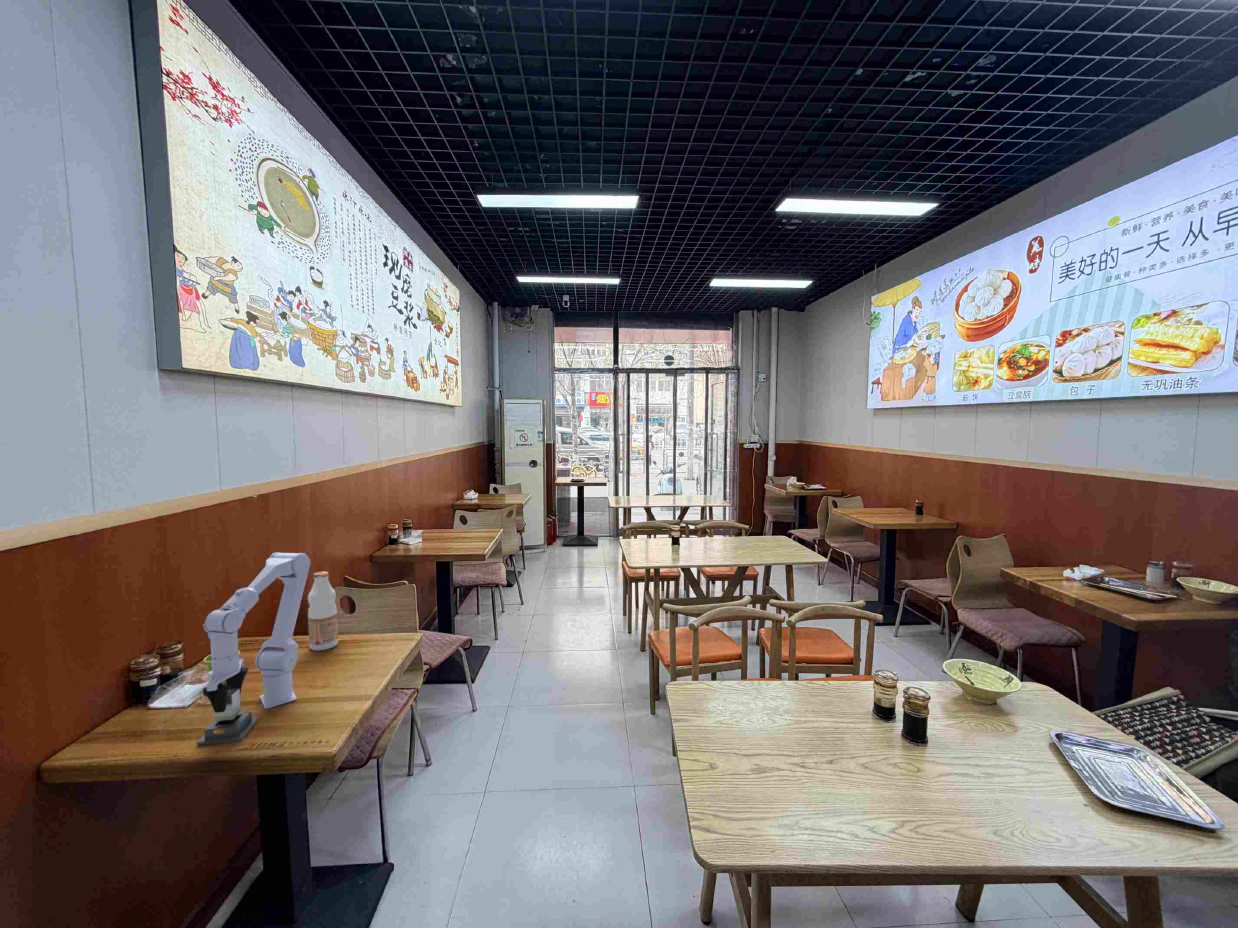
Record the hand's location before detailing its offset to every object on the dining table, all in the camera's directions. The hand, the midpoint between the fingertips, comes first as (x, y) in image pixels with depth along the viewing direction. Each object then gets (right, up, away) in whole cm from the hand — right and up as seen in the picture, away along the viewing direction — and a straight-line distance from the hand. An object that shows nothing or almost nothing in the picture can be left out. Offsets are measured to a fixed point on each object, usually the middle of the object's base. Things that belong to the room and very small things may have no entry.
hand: (227, 703), depth 137 cm
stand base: (0, -8, +1) cm, 8 cm away
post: (0, -3, 0) cm, 3 cm away
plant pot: (-24, -7, +29) cm, 38 cm away
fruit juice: (-7, -5, +57) cm, 57 cm away
